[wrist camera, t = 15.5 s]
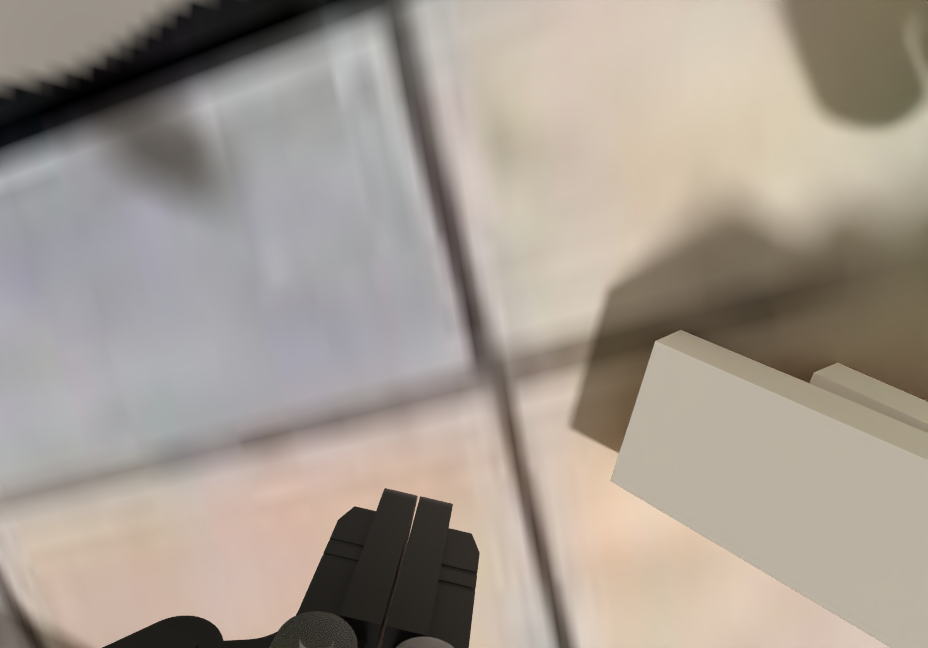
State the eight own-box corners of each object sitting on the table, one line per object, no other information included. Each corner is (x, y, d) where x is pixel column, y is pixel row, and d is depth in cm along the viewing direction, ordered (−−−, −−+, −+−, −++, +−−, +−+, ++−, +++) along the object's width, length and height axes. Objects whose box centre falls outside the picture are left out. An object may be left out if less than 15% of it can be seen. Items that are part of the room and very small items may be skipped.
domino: (610, 481, 21) (1025, 727, 15) (655, 341, 19) (1150, 557, 13) (635, 462, 23) (1027, 681, 16) (680, 329, 21) (1140, 521, 15)
